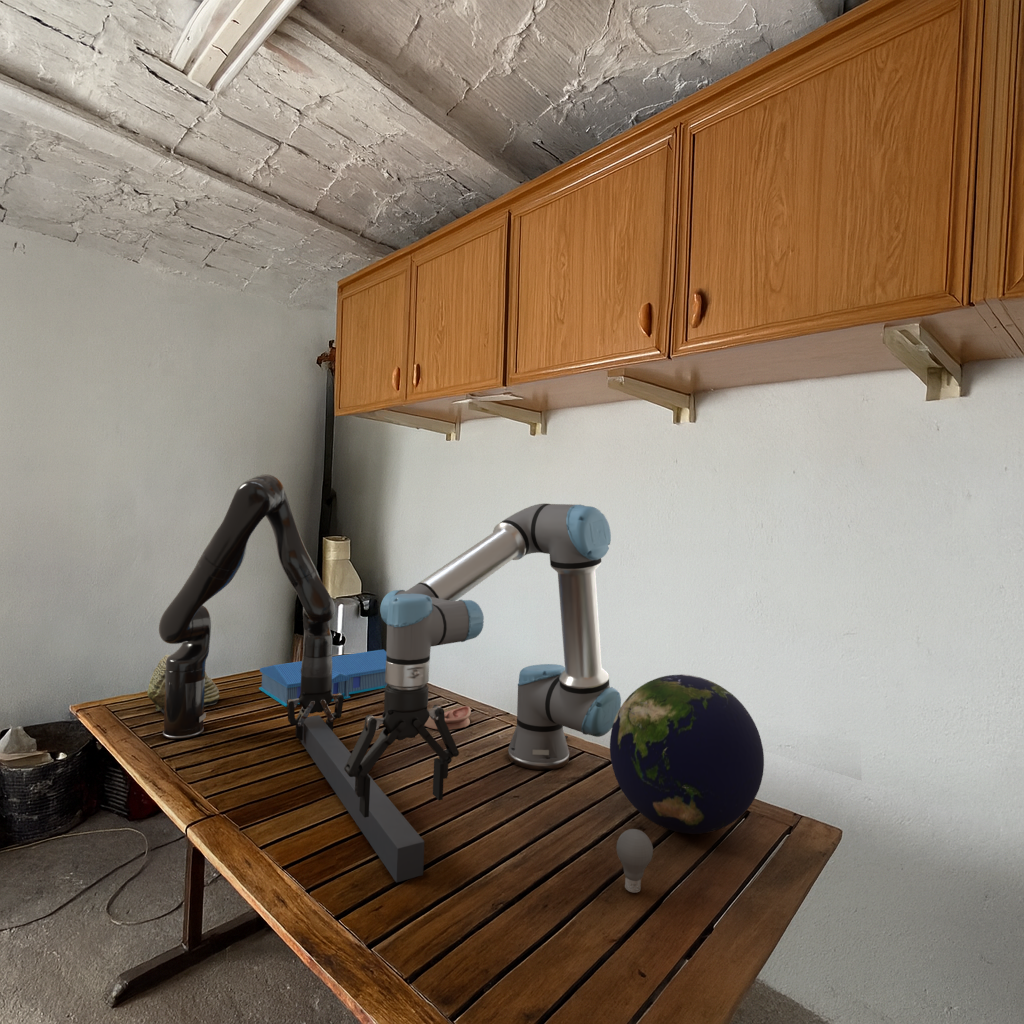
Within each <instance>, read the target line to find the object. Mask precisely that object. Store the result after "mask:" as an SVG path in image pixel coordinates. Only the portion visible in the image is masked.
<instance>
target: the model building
mask: <svg viewBox="0 0 1024 1024" xmlns="http://www.w3.org/2000/svg"><path fill="white" fill-rule="evenodd" d="M386 652H387V650H385V649H376V650H368V651H363V652H356V653H349V654H342V655H341V654H340V655H335V656H332V689H331V692H332V694H337V693H341V694H342V695H343V696H344V699H343V700H346V699H347V700H348V699H350V698H351V695H353V694H359V693H364V692H365V693H366V692H369V691H373V690H381V689H385V686H386V685H387V683H386V682H385V672H386ZM301 666H302V660H300V661H293V662H287V663H278V664H272V665H268V666H264V667H263V666H262V667H260V668H259V672H260V673H261V686H260V687H258V690H260V691H261V692H262V693H264V694H265V695H267V696H268V697H270V698H271V699H273V700H274V701H276V702H277V703H279V704H280V705H282V706H283V707H286V708H287V700H288V699H292V700H293V699H297V698H299V696H300V693H301ZM331 702H334V699H332V700H331ZM297 705H301V704H300V703H298V704H297Z"/></svg>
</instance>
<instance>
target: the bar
mask: <svg viewBox="0 0 1024 1024" xmlns="http://www.w3.org/2000/svg"><path fill="white" fill-rule="evenodd" d="M302 725H303V740H302V741H300V743H301V745H302V746H303V747H304V749H305V750H306V752H307V753H308V755H309V756H310V758H311V759H312V760H313V762H314V764H315V765H316V767H317V768H318V769H319V771H320V772H321V774H322V775H323V778H325V780H326V781H327V783H328V784H329V786H330V787H331V788H332V791H334V793H335V795H336V796H337V797H338V799H339V801H340V803H342V805H343V807H344V808H345V809H346V812H348V814H349V815H350V817H351V818H352V819H353V821H354V823H355V824H356V826H357V827H358V828H359V830H360V831H361V833H362V834H363V836H364V837H365V839H366V840H367V842H368V843H369V844H370V846H371V848H372V849H373V850H374V852H375V853H376V855H377V856H378V858H379V859H380V861H381V863H382V864H383V865H384V867H385V868H386V870H387V871H388V872H389V874H390V876H391V877H392V879H393V880H394V881H395V883H400V882H404V881H407V880H411V879H414V878H418V877H421V876H423V875H424V863H425V862H424V861H425V840H424V839H423V838H422V837H421V836H420V834H419V833H418V831H416V829H415V828H414V827H413V826H412V825H411V823H410V822H409V821H408V819H406V817H405V816H404V815H403V814H402V813H401V811H400V810H399V809H398V808H397V806H396V805H395V804H394V803H393V802H392V801H391V800H390V798H389V797H388V796H387V795H386V793H385V792H384V791H383V790H382V789H381V787H380V786H379V785H378V784H377V782H376V781H375V780H374V779H373V778H372V776H371V775H369V773H368V774H367V775H368V776H369V777H370V800H369V817H365V818H364V816H363V815H362V814H361V812H360V811H359V807H360V797H358V796H357V795H356V793H355V777H350V776H349V775H348V774H347V773H346V771H345V770H344V768H345V765H346V763H347V761H348V759H349V757H350V755H351V753H352V752H351V751H349V749H348V748H347V747H346V746H345V744H344V742H342V741H341V740H340V739H339V737H338V736H337V735H336V734H335V732H334V730H333V731H332V730H331V729H330V728H329V727H328V725H327V724H326V721H325V720H324V719H323V718H322V717H321V715H320V714H318V715H311V716H310V715H309V716H308V717H307V718H306V719H305V721H304V723H303V724H302Z"/></svg>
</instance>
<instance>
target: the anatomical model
mask: <svg viewBox="0 0 1024 1024" xmlns="http://www.w3.org/2000/svg"><path fill="white" fill-rule="evenodd" d="M471 713H472V710H471V707H470V706H468V705H465V706H461V707H460V706H459V707H457V708H453V709H450V710H447V711H444V716H445V722H446V724H447V726H448V729H449V730H457V729H462V728H466V727H468V726H469V725H470V724H471V721H470V717H471ZM424 727H425V728H429V729H432V730H437V731H438V729H437V726H436V724H435V722H434V720H433V719H431V717H430V716H429V719H428V720H427V722H426V723H425V725H424Z"/></svg>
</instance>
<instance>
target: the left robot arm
mask: <svg viewBox="0 0 1024 1024" xmlns="http://www.w3.org/2000/svg"><path fill="white" fill-rule="evenodd" d="M265 517H266V519H267V521H268V522H269V525H270V527H271V529H272V532H273V537H274V540H275V545H276V552H277V557H278V560H279V563H280V566H281V568H282V571H283V573H284V575H285V576H286V579H287V581H288V582H289V584H290V586H291V588H292V589H293V590H294V592H295V593H296V594H297V596H298V599H299V601H300V604H301V605H302V618H303V619H302V622H303V641H302V642H303V645H302V648H303V649H302V658H301V661H302V666H301V693H300V696H299V698H297V699H293V700H292V699H288V700H287V706H286V709H287V710H286V711H287V721H288V723H289V724H290V725H291V726H295V732H294V733H295V734H294V735H295V738H296V739H297V740H298V741H299V742H301V741H302V740H303V725H302V724H303V723H304V721H305V719H306V718H307V717H309V716H310V715H311V714H316V713H320V714H321V713H324V715H325V717H326V720H325V723H326V724H327V725H328V727H329V728H330V729H331V730H332V731H333V732H334V721H336V720H338V719H341V718H342V714H343V707H344V700H345V699H344V696H343V695H342V694H341V693H337V694H332V692H331V689H332V657H333V635H332V632H331V620H332V619H333V617H334V616H335V614H336V604H335V602H334V600H333V598H332V596H331V594H330V593H329V591H328V590H327V588H326V586H325V585H324V583H323V582H322V579H321V577H320V575H319V572H318V570H317V568H316V565H315V564H314V562H313V560H312V558H311V556H310V554H309V553H308V550H307V549H306V546H305V544H304V542H303V540H302V537H301V535H300V531H299V529H298V527H297V524H296V520H295V518H294V514H293V512H292V509H291V506H290V503H289V499H288V496H287V493H286V490H285V487H284V485H283V483H282V482H281V481H280V479H278V477H276V476H274V475H272V474H269V473H268V474H267V473H264V474H263V473H262V474H259V475H256V476H254V477H252V478H249V479H247V480H245V481H243V482H242V483H241V484H240V485H239V486H238V487H237V489H236V490H235V492H234V495H233V497H232V499H231V502H230V504H229V506H228V509H227V511H226V513H225V515H224V518H223V520H222V522H221V523H220V524H219V527H218V528H217V529H216V531H215V532H214V533H213V535H212V537H211V539H210V541H209V542H208V544H207V545H206V546H205V548H204V549H203V552H202V553H201V555H200V556H199V559H198V560H197V562H196V563H195V566H194V568H193V569H192V571H191V573H190V575H188V578H187V579H186V581H185V582H184V584H183V586H182V587H181V589H180V590H179V592H178V593H177V594H176V596H175V597H174V598H173V599H172V601H171V602H170V603H169V604H168V606H167V607H166V609H165V610H164V611H163V613H162V615H161V618H160V619H159V623H158V634H159V637H160V638H161V640H162V641H163V642H165V643H166V644H170V645H179V644H181V645H180V647H179V648H178V649H177V650H176V651H174V652H173V653H172V654H169V655H170V656H169V657H168V658H167V660H166V674H165V705H164V709H163V708H162V709H161V711H160V712H161V713H162V714H163V731H162V737H164V738H166V739H169V740H185V739H190V738H191V739H192V738H194V737H197V736H199V735H202V734H203V732H204V730H205V729H204V722H205V721H204V720H205V719H206V718H207V712H205V706H204V693H205V672H206V664H207V663H206V662H207V659H208V656H209V653H210V643H211V633H212V617H211V614H210V612H209V610H208V608H207V607H206V606H205V603H207V602H208V601H210V599H212V598H214V596H216V595H217V594H219V593H220V592H221V591H222V590H223V589H225V588H226V587H227V586H228V585H229V584H230V583H231V582H232V580H233V579H234V578H235V576H236V575H237V573H238V571H239V570H240V568H241V567H242V564H243V562H244V559H245V557H246V554H247V548H248V543H249V539H250V537H251V536H252V535H253V533H254V531H255V530H256V528H257V527H258V526H259V524H260V523H261V522H262V520H263V519H265ZM332 699H334V701H333V702H334V709H333V710H334V711H333V712H332V711H331V708H330V707H329V705H330V704H331V702H332V701H331V700H332ZM298 703H300V704H298ZM298 705H300V706H301V709H300V710H299V712H298V715H297V717H296V713H295V711H296V710H295V709H296V708H297V707H298Z"/></svg>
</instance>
